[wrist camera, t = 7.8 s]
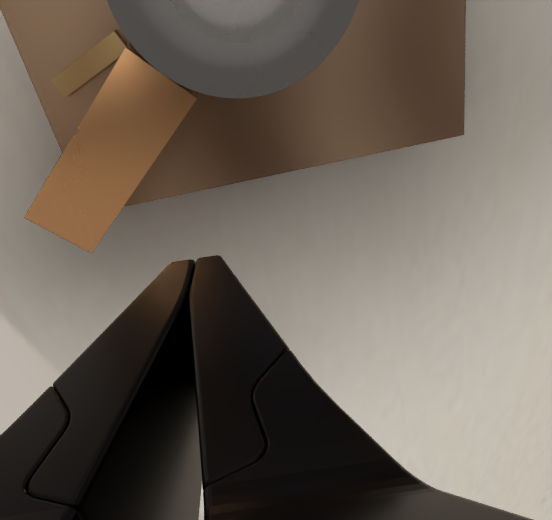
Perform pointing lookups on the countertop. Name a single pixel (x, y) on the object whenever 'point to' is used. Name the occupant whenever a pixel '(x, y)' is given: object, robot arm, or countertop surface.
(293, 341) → the countertop surface
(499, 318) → the countertop surface
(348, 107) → the base plate
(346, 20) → the metal and wood piece
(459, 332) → the countertop surface
